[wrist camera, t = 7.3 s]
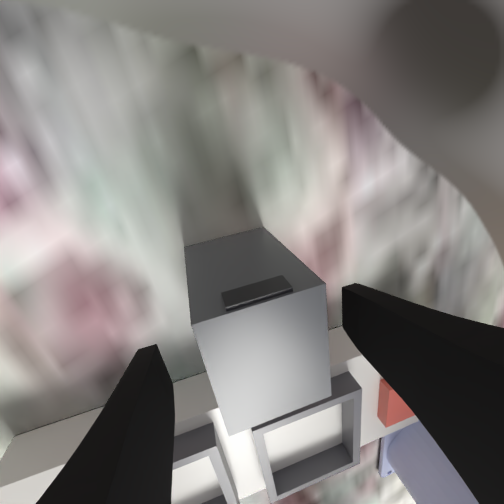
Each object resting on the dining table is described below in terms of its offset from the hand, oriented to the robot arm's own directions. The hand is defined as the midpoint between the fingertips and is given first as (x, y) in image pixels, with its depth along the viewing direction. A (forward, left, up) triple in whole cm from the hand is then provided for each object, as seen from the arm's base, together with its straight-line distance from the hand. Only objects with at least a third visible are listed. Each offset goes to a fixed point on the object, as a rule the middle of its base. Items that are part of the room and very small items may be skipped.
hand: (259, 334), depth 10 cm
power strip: (+1, +10, -4) cm, 11 cm away
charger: (0, 0, -4) cm, 4 cm away
